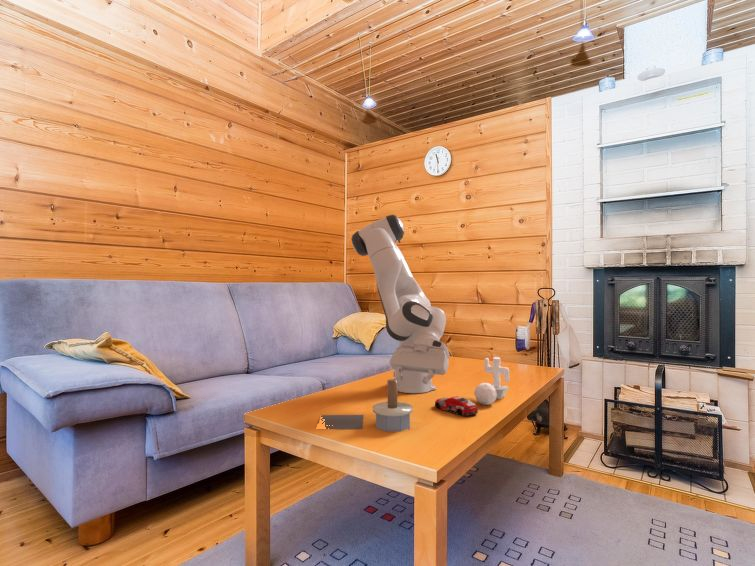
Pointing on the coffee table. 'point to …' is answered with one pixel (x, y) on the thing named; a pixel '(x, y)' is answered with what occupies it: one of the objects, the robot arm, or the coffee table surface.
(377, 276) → the robot arm
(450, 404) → the race car
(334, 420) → the mat
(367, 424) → the coffee table surface
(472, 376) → the coffee table surface
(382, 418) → the bowl
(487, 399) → the geometric ball
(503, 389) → the figurine
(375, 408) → the lid
